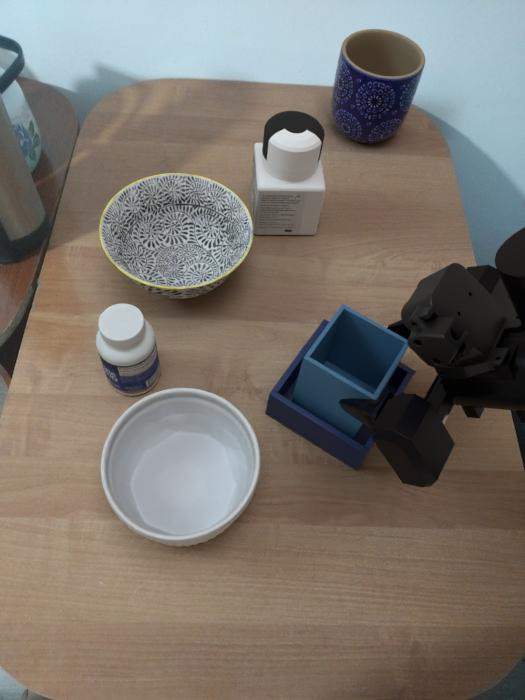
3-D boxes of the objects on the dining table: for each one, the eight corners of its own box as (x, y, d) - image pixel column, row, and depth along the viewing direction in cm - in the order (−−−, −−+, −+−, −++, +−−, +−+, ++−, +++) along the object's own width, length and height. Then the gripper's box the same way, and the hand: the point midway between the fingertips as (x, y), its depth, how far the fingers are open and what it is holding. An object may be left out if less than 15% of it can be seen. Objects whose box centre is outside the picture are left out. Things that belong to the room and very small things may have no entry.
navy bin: (402, 391, 59) (416, 370, 55) (356, 471, 54) (367, 454, 50) (317, 341, 61) (324, 318, 57) (265, 413, 56) (268, 393, 52)
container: (250, 190, 72) (257, 100, 61) (309, 191, 73) (327, 103, 62) (253, 235, 68) (261, 148, 57) (315, 236, 69) (335, 150, 58)
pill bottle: (102, 359, 58) (83, 304, 50) (153, 345, 59) (143, 290, 51) (114, 404, 56) (96, 354, 47) (167, 388, 57) (159, 338, 48)
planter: (315, 108, 82) (328, 32, 72) (382, 99, 84) (404, 24, 75) (342, 158, 77) (360, 83, 67) (413, 147, 79) (441, 73, 69)
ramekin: (106, 431, 54) (92, 400, 48) (239, 406, 56) (242, 374, 50) (121, 573, 48) (107, 558, 42) (270, 539, 50) (278, 519, 44)
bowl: (275, 261, 67) (282, 215, 60) (194, 354, 59) (192, 314, 53) (169, 201, 70) (164, 152, 64) (80, 282, 63) (65, 236, 56)
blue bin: (382, 392, 58) (411, 341, 49) (350, 444, 55) (375, 400, 46) (324, 358, 59) (342, 303, 51) (289, 407, 56) (303, 357, 48)
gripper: (555, 191, 38) (373, 229, 50) (448, 390, 30) (260, 379, 42) (597, 312, 43) (423, 320, 55) (517, 512, 35) (331, 471, 47)
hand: (366, 366), depth 50 cm, fingers open, 9 cm apart
